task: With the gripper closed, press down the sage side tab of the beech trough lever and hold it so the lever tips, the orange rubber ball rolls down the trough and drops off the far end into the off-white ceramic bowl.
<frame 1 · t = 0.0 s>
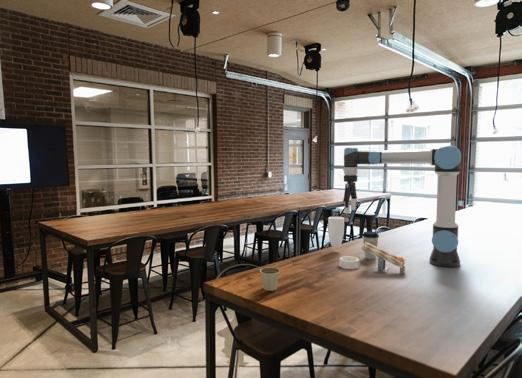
hand: (350, 211, 209), 28 cm above the table, fingers open, 13 cm apart
flower pot: (270, 289, 167), on the table
coffee cup: (370, 258, 214), on the table
fulcrum: (381, 270, 191), on the table
lever: (384, 252, 192), point 9 cm above the table, hinge at -20.0°, touching ball
cup: (335, 251, 228), on the table
bowl: (349, 266, 198), on the table
ball: (400, 259, 186), point 7 cm above the table, tilted 6°, touching lever
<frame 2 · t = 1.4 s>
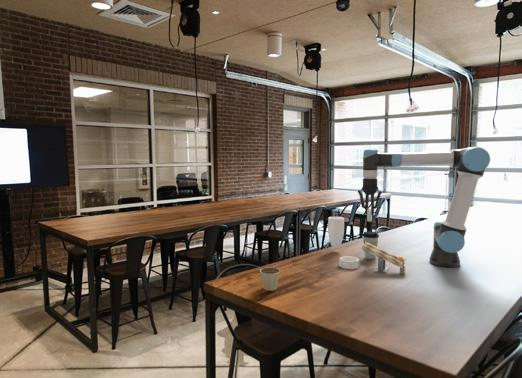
hand: (369, 220, 199), 24 cm above the table, fingers closed
nothing on the table moved.
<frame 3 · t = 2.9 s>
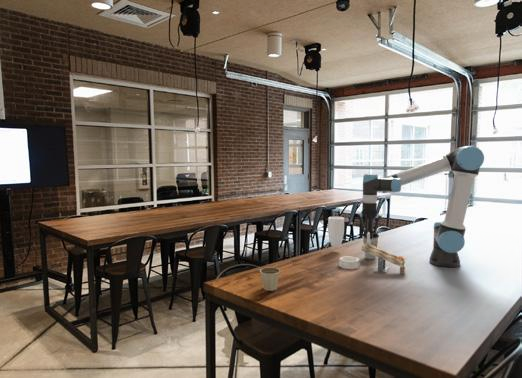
hand: (368, 244, 200), 11 cm above the table, fingers closed
lever: (384, 252, 192), point 9 cm above the table, hinge at -17.6°, touching ball, gripper
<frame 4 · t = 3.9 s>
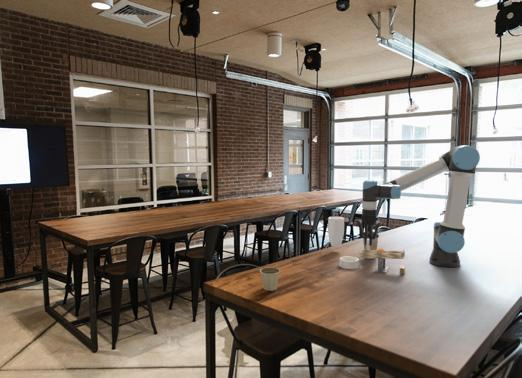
hand: (368, 250, 200), 8 cm above the table, fingers closed
lever: (382, 252, 193), point 9 cm above the table, hinge at 5.1°, touching ball, gripper
ball: (380, 252, 190), point 10 cm above the table, tilted 57°, touching lever
everything else where it was.
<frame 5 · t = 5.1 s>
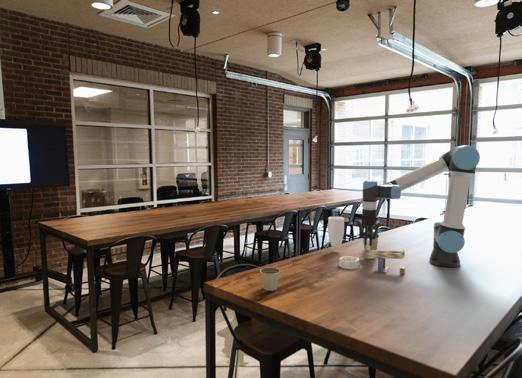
hand: (368, 251, 200), 8 cm above the table, fingers closed
lever: (382, 252, 193), point 9 cm above the table, hinge at 5.4°, touching gripper
ball: (345, 261, 199), point 2 cm above the table, tilted 153°, touching bowl
everything else where it was.
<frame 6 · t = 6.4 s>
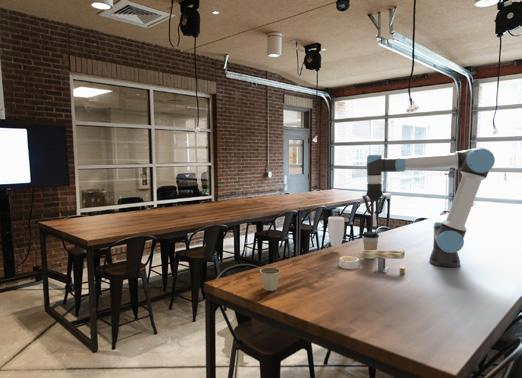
hand: (374, 226, 199), 22 cm above the table, fingers closed
lever: (382, 252, 193), point 9 cm above the table, hinge at 5.5°
ball: (346, 261, 199), point 2 cm above the table, tilted 177°, touching bowl
everything else where it was.
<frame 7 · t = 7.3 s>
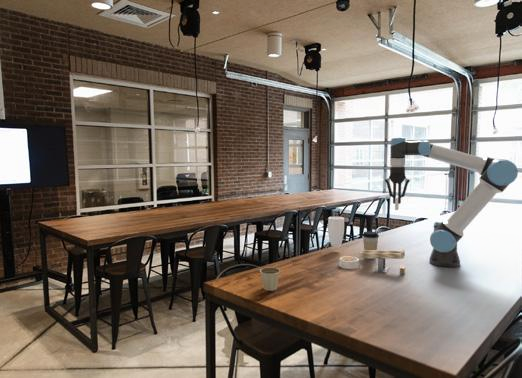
hand: (396, 209, 199), 30 cm above the table, fingers closed
ball: (347, 261, 199), point 2 cm above the table, tilted 167°, touching bowl
everything else where it was.
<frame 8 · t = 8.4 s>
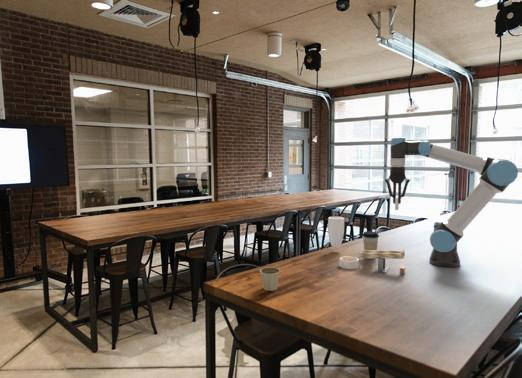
hand: (396, 209, 199), 30 cm above the table, fingers closed
ball: (348, 261, 198), point 2 cm above the table, tilted 147°, touching bowl
everything else where it was.
at the end: ball inside the target area on the bowl (0.3 cm from its centre), point 2.3 cm above the bowl's base; lever at +6° (first picture: -20°) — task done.
